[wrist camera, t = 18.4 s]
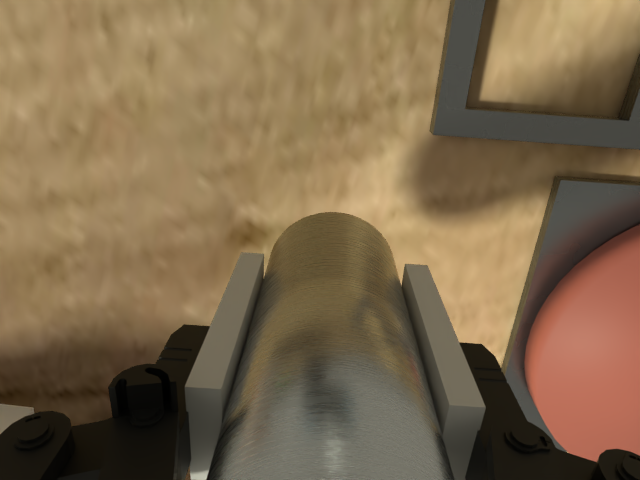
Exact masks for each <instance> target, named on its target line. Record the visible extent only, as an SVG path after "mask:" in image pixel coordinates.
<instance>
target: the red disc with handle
mask: <svg viewBox="0 0 640 480" xmlns="http://www.w3.org/2000/svg"><path fill="white" fill-rule="evenodd" d="M524 364H525V378H526V382H527V386H528V390H529V393H530V395H531V397H532V400H533V402H534V404H535V406H536V408H537V410H538V411H539V413H540V415H541V417H542V419H543V421H544V422H545V424H546V426H547V428H548V429H549V431H550V432H551V434H552V435H553V437H554V438H555V440H556V441H557V442H558V443H559V444H560V445H561V446H562V447H563V448H564V449H565V450H566V451H567V452H569V453H570V454H573V455H576V456H579V457H582V458H585V459H589V460H592V461H595V462H597V460H598V458H599V455H600V454H601V453H603V452H604V451H605V450H608V449H621V450H626V451H631V452H633V453H635V454H637V455H639V456H640V225H637V226H635V227H633V228H631V229H629V230H627V231H625V232H623V233H621V234H619V235H618V236H616V237H614V238H612V239H611V240H609V241H608V242H606V243H605V244H603V245H601V246H600V247H598V248H597V249H595V250H594V251H593V252H591V253H590V254H589V255H588V256H586V257H585V258H584V259H583V260H582V261H580V262H579V263H578V264H577V265H575V266H574V267H573V268H572V269H571V271H570V272H569V273H568V274H567V275H566V276H565V277H564V278H563V279H562V280H561V281H560V282H559V283H558V284H557V286H556V287H555V288H554V290H553V291H552V292H551V293H550V295H549V296H548V297H547V299H546V301H545V302H544V304H543V305H542V307H541V309H540V310H539V312H538V314H537V316H536V318H535V321H534V323H533V325H532V328H531V330H530V334H529V337H528V341H527V344H526V351H525V360H524Z"/></svg>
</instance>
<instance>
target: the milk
mask: <svg viewBox="0 0 640 480" xmlns="http://www.w3.org/2000/svg"><path fill="white" fill-rule="evenodd" d="M31 414H34V408H33V407H25V406H15V405H6V404H0V434H1V433H2V432H3V431H4V430H5V429H6V428H8V427H9V426H10V425H11V424H12V423H14V422H16V421H18V420H19V419H21V418H23V417H25V416H28V415H31Z"/></svg>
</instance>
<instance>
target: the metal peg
mask: <svg viewBox="0 0 640 480" xmlns="http://www.w3.org/2000/svg"><path fill="white" fill-rule="evenodd" d="M206 480H454V476H453V473H452V469H451V466H450V462H449V458H448V455H447V451H446V447H445V444H444V440H443V436H442V433H441V429H440V425H439V422H438V418H437V414H436V411H435V407H434V404H433V400H432V396H431V393H430V389H429V385H428V382H427V378H426V374H425V371H424V367H423V363H422V360H421V356H420V353H419V349H418V345H417V342H416V338H415V334H414V331H413V327H412V323H411V320H410V316H409V312H408V309H407V305H406V302H405V298H404V294H403V291H402V287H401V283H400V280H399V276H398V272H397V269H396V265H395V261H394V258H393V254H392V251H391V249H390V246H389V245H388V243H387V241H386V239H385V238H384V237H383V236H382V234H381V233H380V232H379V231H378V230H377V229H376V228H375V227H373V226H372V225H371V224H369V223H368V222H366V221H364V220H362V219H360V218H358V217H355V216H353V215H349V214H345V213H337V212H326V213H318V214H314V215H310V216H308V217H305V218H303V219H301V220H299V221H297V222H295V223H294V224H292V225H291V226H290V227H288V228H287V229H286V230H285V231H284V232H283V233H282V234H281V236H280V237H279V238H278V240H277V241H276V243H275V245H274V247H273V249H272V252H271V255H270V258H269V262H268V265H267V269H266V272H265V276H264V279H263V283H262V286H261V290H260V293H259V297H258V300H257V304H256V307H255V311H254V314H253V318H252V321H251V325H250V328H249V332H248V335H247V339H246V342H245V346H244V349H243V353H242V356H241V360H240V363H239V367H238V370H237V374H236V377H235V381H234V384H233V388H232V391H231V395H230V398H229V402H228V405H227V409H226V412H225V416H224V419H223V423H222V426H221V430H220V433H219V437H218V440H217V444H216V447H215V451H214V454H213V458H212V461H211V465H210V468H209V472H208V475H207V479H206Z"/></svg>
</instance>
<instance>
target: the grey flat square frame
mask: <svg viewBox="0 0 640 480" xmlns="http://www.w3.org/2000/svg"><path fill="white" fill-rule="evenodd" d="M484 5H485V0H451V2H450V8H449V14H448V20H447V27H446V33H445V39H444V45H443V52H442V58H441V64H440V70H439V77H438V83H437V89H436V95H435V101H434V108H433V114H432V120H431V126H430V132H431V133H432V134H433V135H443V136H457V137H471V138H485V139H499V140H513V141H527V142H541V143H555V144H569V145H583V146H597V147H611V148H625V149H639V150H640V54H639V57H638V60H637V63H636V66H635V69H634V72H633V75H632V78H631V82H630V85H629V88H628V91H627V94H626V97H625V100H624V103H623V106H622V110H621V113H620V116H619V118H614V117H600V116H586V115H572V114H558V113H544V112H530V111H516V110H502V109H488V108H474V107H465V106H466V101H467V96H468V90H469V85H470V80H471V74H472V69H473V64H474V58H475V53H476V48H477V43H478V37H479V32H480V27H481V21H482V16H483V11H484Z"/></svg>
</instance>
